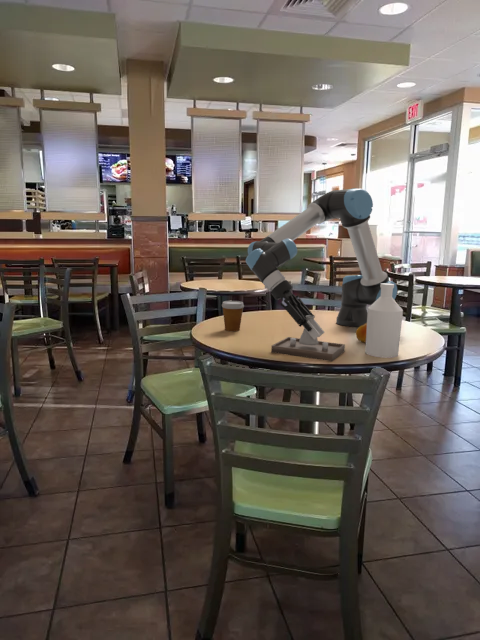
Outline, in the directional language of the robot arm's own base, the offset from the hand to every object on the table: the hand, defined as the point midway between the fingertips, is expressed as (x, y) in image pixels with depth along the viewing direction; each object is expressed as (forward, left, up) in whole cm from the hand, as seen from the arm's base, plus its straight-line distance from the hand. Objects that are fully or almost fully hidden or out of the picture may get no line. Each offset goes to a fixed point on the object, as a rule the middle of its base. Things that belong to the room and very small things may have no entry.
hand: (319, 335), depth 165 cm
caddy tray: (+3, -3, -6) cm, 7 cm away
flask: (+3, -3, -4) cm, 5 cm away
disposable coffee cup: (+19, -44, -7) cm, 48 cm away
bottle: (-22, +5, -7) cm, 24 cm away
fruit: (-26, -11, -7) cm, 29 cm away
